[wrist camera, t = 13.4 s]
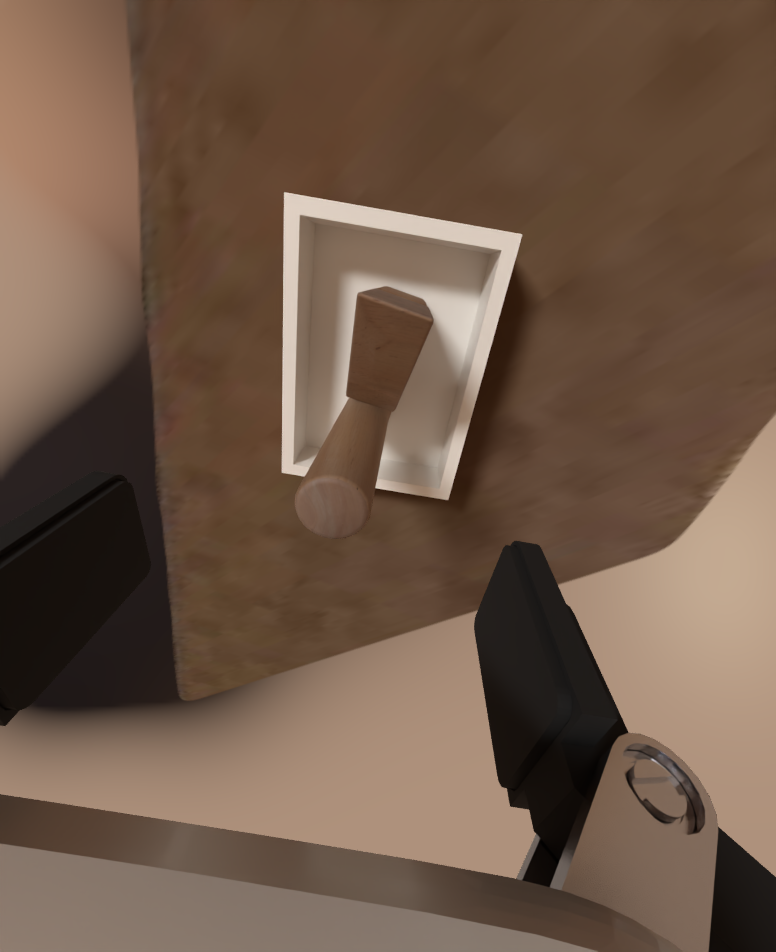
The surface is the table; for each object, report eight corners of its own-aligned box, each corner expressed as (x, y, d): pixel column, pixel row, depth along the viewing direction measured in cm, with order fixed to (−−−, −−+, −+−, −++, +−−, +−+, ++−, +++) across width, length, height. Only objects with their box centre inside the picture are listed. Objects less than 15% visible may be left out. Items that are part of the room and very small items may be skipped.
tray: (305, 206, 27) (284, 192, 22) (505, 241, 27) (522, 234, 22) (298, 449, 36) (281, 472, 32) (444, 473, 37) (448, 500, 32)
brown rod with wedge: (427, 300, 28) (441, 328, 12) (386, 423, 33) (359, 553, 18) (382, 284, 28) (338, 292, 12) (347, 411, 33) (285, 532, 17)
